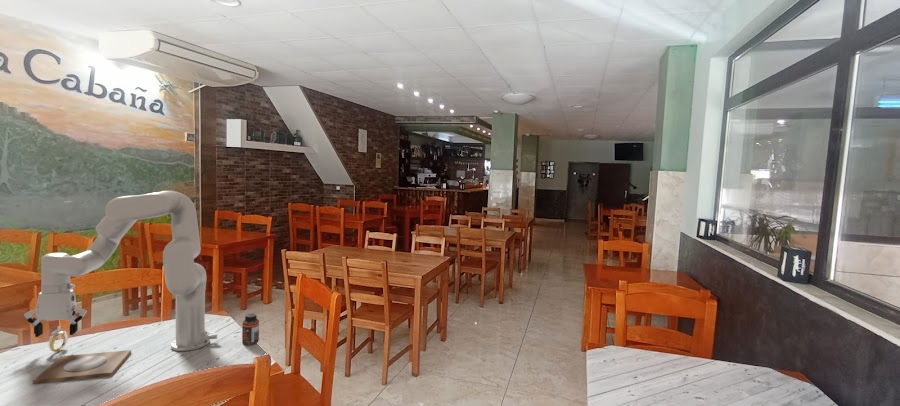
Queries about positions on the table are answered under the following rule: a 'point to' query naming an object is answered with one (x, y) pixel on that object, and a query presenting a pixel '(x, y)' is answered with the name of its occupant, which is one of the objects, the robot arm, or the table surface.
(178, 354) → the table surface
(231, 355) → the table surface
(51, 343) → the bracelet
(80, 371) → the walnut board
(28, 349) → the table surface
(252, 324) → the supplement bottle
